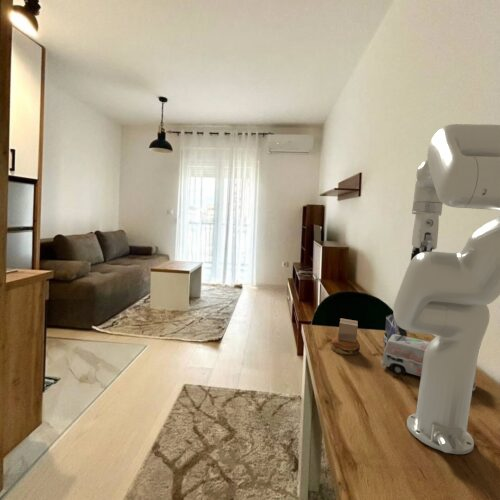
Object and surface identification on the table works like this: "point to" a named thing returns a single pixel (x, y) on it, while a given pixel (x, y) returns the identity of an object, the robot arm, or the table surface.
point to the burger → (344, 346)
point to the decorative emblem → (392, 329)
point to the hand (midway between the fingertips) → (419, 268)
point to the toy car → (406, 355)
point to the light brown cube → (348, 330)
